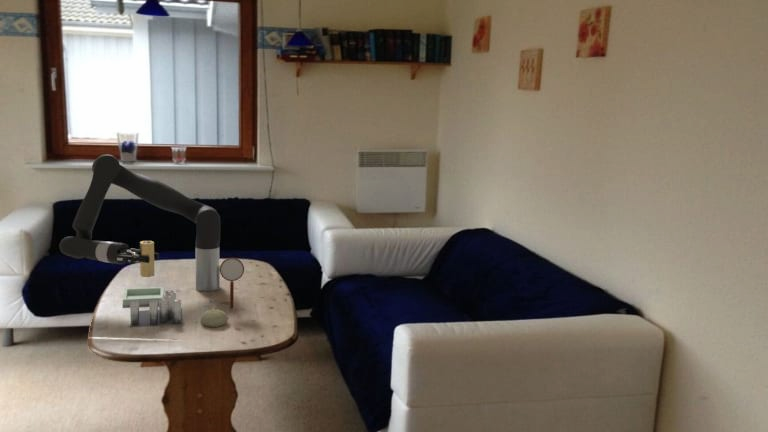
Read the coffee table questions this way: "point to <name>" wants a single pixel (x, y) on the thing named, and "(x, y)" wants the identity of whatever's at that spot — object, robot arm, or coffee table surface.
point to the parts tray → (142, 295)
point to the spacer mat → (145, 319)
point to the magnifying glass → (231, 274)
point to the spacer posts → (167, 310)
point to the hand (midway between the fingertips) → (153, 258)
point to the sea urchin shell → (214, 318)
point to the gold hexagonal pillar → (148, 250)
